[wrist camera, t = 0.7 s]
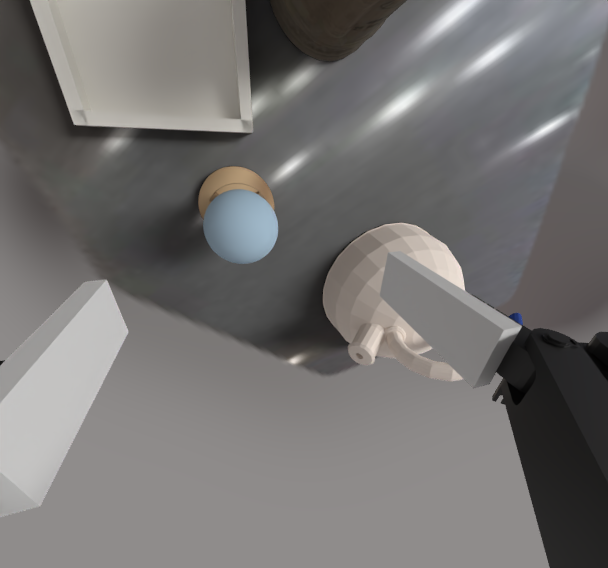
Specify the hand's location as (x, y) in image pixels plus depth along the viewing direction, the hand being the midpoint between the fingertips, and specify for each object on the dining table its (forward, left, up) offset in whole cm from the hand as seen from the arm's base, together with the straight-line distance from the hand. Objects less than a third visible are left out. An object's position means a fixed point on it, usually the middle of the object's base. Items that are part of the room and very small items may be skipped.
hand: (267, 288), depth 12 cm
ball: (0, -1, -13) cm, 13 cm away
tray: (-14, -6, -19) cm, 24 cm away
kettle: (+13, +20, -19) cm, 31 cm away
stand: (0, -1, -19) cm, 19 cm away
